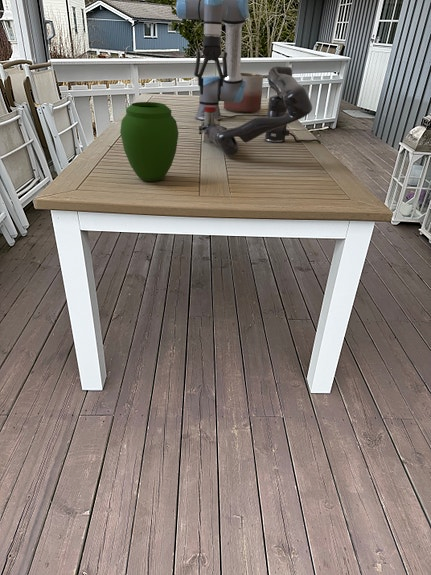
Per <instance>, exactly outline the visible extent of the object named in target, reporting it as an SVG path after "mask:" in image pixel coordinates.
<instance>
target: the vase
mask: <svg viewBox="0 0 431 575" xmlns="http://www.w3.org/2000/svg"><path fill="white" fill-rule="evenodd" d="M125 113H126V114H125V115H124V117H122V119H121V122H120V123H121V124H120V130H119V133H120V138H121V142H122V147H123V150H124V154H125V155H126V158H127V160H128V163H129V165H130V167H131V168H132V170H133V172H134V173H135V175H136V176H137V177H138V178H139V179H141V180H143V181H145V182H159V181H161V180H163V179H164V178H165V176H166V175H167V174H168V173H169V170H170V169H171V167H172V165H173V162H174V159H175V157H176V156H175V155H176V153H177V147H178V140H179V129H178V122H177V120H176V119H175V117H174V116H173V115H172V109H171V108H170V107H169V106H167V105H166V104H164V103H162V102H155V101H138V102H132V103H131V104H130V105H128V107H127V108H125Z"/></svg>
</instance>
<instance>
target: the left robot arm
mask: <svg viewBox="0 0 431 575" xmlns="http://www.w3.org/2000/svg"><path fill="white" fill-rule="evenodd" d="M249 6H250V5H249V0H176V4H175V12H176V16H177V17H178V19H181V20H200V21H201V20H202V21H203V35H204V36H203V42H202V46H203V47H202V50H196V51H195V54H196V55H195V56H196V60H195V64H194V66H195V67H194V72H193V76H195V77H197V86H198V87H199V94H198V95H199V99H198V101H199V103H198V104H199V105H198V107H197V111H196V114H195V119H196V120H199V121H202V122H204V115H205V111H204V106H207V105H210V106H216V111H215V118H216V119H217V121H221V120H222V118H236V117H267V115H268V114H249V113H242V114H234V115H223V114H221V110H220V107H219V105H220V103H219V102H224V101H225V102H233V103H234V102H241V101H242V98H243V94H244V90H245V81H243V77H242V75H241V74H240V73H241V68H242V66H241V64H242V63H241V62H242V41H243V40H242V39H243V38H242V35H243V25H244V24H245V23H246V20H247V19H248V18H249V11H250V10H249V9H250V8H249ZM222 23H223V24H224V25H225V51H222V49H221V46H222V44H221V43H222V38H221V36H222ZM202 56H203V57H204V58H203V62H202V65H201V67H200V63H201V57H202ZM220 56H221V57H222V58H221V60H222V66H221V63H220V59H219V57H220ZM211 61H214V63H215V66H216V69H217V74H218V75H214V76H212V75H211V76H205V77H204V76H203V75H204V73H205V70H206V69H207V68H206V67H207V65H208V63H209V62H211ZM287 114H288V112H287Z"/></svg>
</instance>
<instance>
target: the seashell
mask: <svg viewBox="0 0 431 575" xmlns="http://www.w3.org/2000/svg"><path fill="white" fill-rule="evenodd" d="M219 121H220V120H218V121H217V119H216V118H215V121H214V124H218V125H220V126H221V124H220V122H219ZM201 125H204V121H202V124H201Z"/></svg>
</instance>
